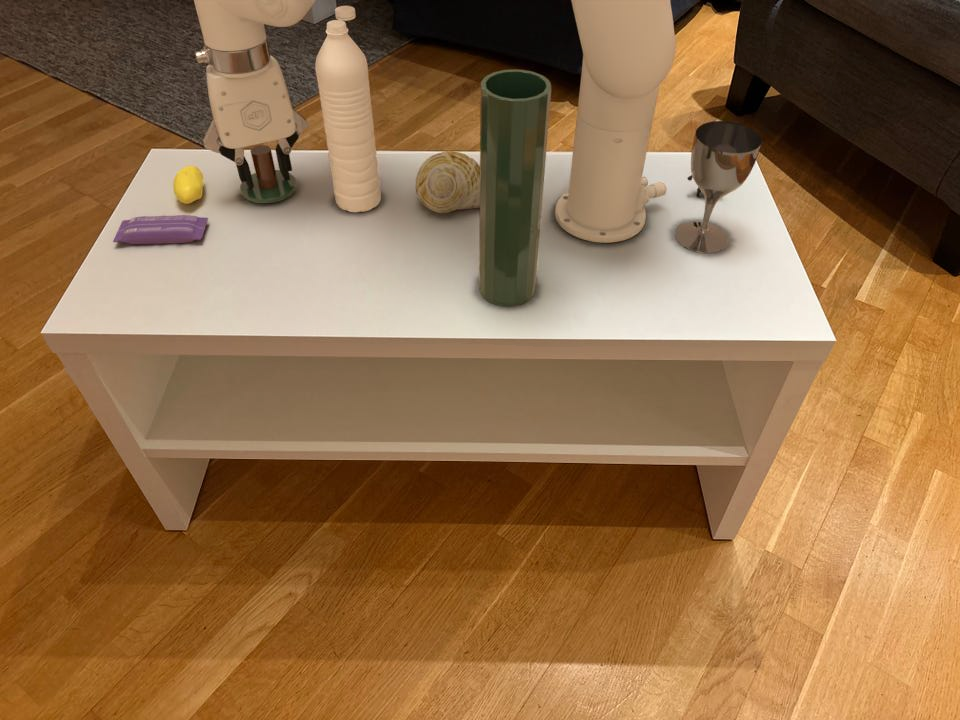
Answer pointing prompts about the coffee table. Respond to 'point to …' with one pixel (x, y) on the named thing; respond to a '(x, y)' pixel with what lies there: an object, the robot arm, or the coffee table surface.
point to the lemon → (188, 184)
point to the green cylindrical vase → (511, 182)
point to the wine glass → (717, 176)
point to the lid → (267, 179)
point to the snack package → (161, 229)
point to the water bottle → (348, 116)
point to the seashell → (449, 182)
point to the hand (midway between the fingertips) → (267, 178)
